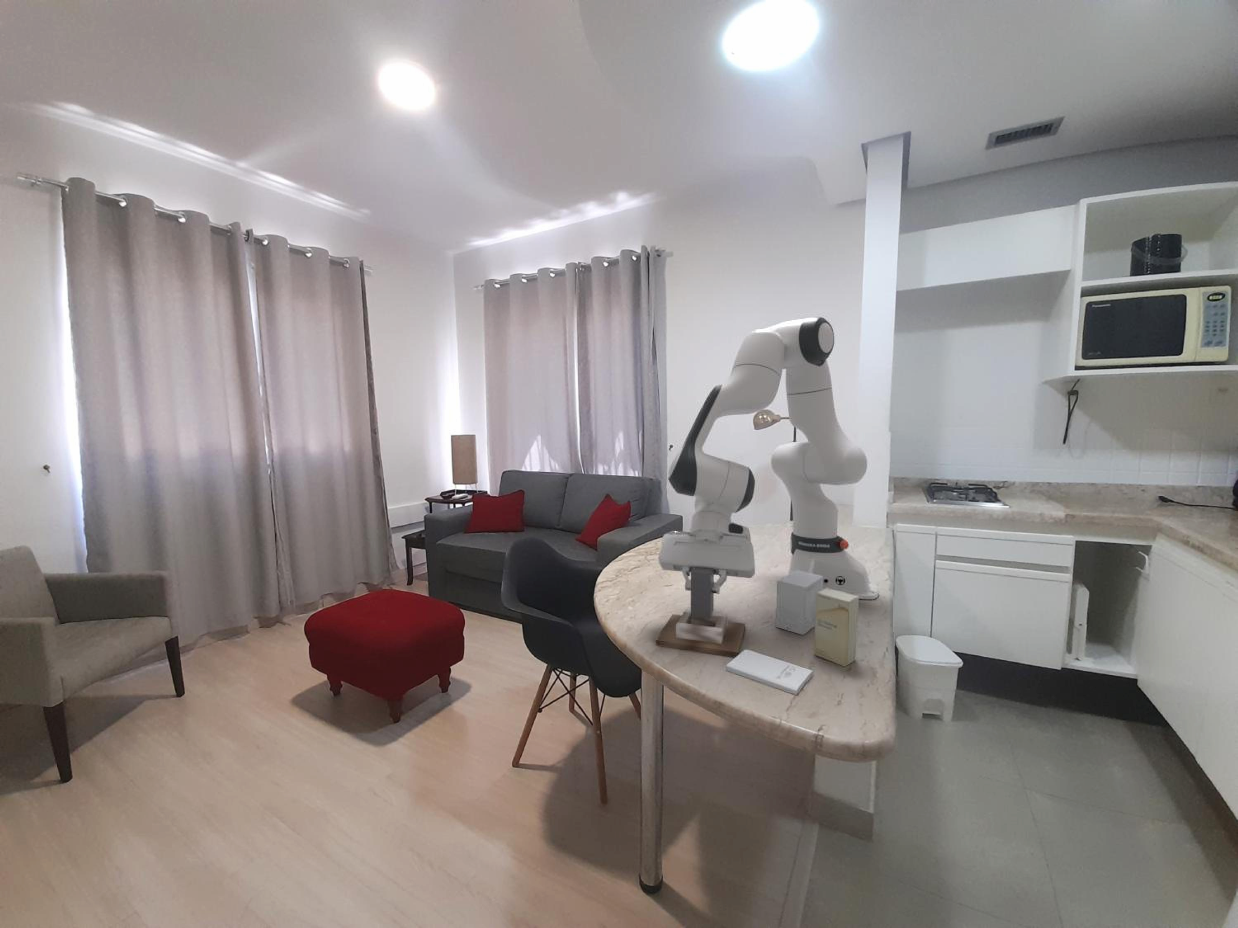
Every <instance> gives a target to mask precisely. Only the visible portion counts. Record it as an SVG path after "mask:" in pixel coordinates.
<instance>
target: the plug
mask: <svg viewBox="0 0 1238 928" xmlns="http://www.w3.org/2000/svg"><path fill="white" fill-rule="evenodd" d="M714 577H715V575H714V569H712V568H701V567H694V568H693V570H692V571H691V572H690V580H691V591H690V610H691V616H699V617H707V618H711V616H712V613H714V611H715V610H714V606H715V605H714V603H715V602H714V601H715V600H714V599H715V598H714V594H715V593H712V591H711V588H712V582H715V578H714Z"/></svg>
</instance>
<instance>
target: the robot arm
mask: <svg viewBox="0 0 1238 928" xmlns="http://www.w3.org/2000/svg"><path fill="white" fill-rule="evenodd" d="M834 346H835V333H834V329H833V326H832V324H831V323H830V322H829V321H828V320H827V319H826V318H824V317H820V316H808V317H805V318H800V319H793V320H787V321H782V322H780V323H777V324H774V325H770V326H767V327H765V328H759V329H754V330H753V331H751V332H749V333H747V335H746V336H745V337H744V339H743V342H742V343H741V345H740V347H739V349H738V351H737V355H736V357H735V359H734V362H733V365H732V369H731V372H730V375H729V377H728V379H726V381H725V382H724V383H722V384H718V385H715V386H714V387H713V388H712V390H711V391H710V392H709V394H707V397H706V399H705V401H704V403H703V405H702V406H701V408H700V410H699V412H698V414H697V416H696V418H695V420H694V422H693V424H692V427H691V428H690V430H689V432H688V434H687V437H686V438H685V441H684V443H682V446H681V448H680V450H679V452H678V453H677V454H676V455H675V456H674V459H673V460H672V462H671V464H670V467H669V470H668V478H667V479H668V482H669V483H670V485H671V488H672V489H673V490H674V491H675V493H677V494H680V495H683V496H687V497H695V501H694V510H695V511H694V513H693V515H692V517H691V524H690V528H689V531H682V530H681V531H676V530H671V531H670V532H666V533H664V534H663V536H662V540H661V547H660V551H659V554H658V564H659V565H660V568H661V569H662V570H665V571H671V572H672V571H673V572H682V576H683V577H684V578H683V579H684V580H685V584H684V589H685V591H688V592H689V591H690V592H691V579H690V578H689V577H691V571H692V570H693V568H694V567H701V568H712V569H714V576H718V577H719V578H718V579H717V580H716V581H714V582H712V588H711V591H712V593H714V594H716V595H718V594H719V595H720V592H721V587H722V586H723V585H724V583H726V582H727V579H728V577H733V578H734V577H736V578H744V579H745V578H746V579H751V578H753V576H755V574H756V564H755V563H756V562H755V559H756V558H755V552H754V551H755V550H754V545H753V543H752V538H751V537H752V536H751V531H750V529H749V528H748V527H747V526H745V525H742V524H739V523H735V522H732V515H733V514H736V513H738V512H740V511H742V510H743V509H745V508H746V507H748V506H749V504H750V503H751V502H752V499H753V497H754V494H755V493H754V492H755V485H756V480H755V476H754V473H753V471H752V470H751V468H750V467H749V466H746V465H744V464H740V463H737V462H734V461H731V460H728V459H727V460H726V459H724V458H720V457H718V456H714V455H711V454H708V453H706V452H704V450H703V447H704V445H705V443H706V440H707V438H708V436H709V434H710V432H711V431H712V429H713V426H714V423H715V422H716V421H717V420H718V419H719V418H722V417H728V416H735V415H750V414H755V413H758V412H761V411H763V410H765V409H766V408H768V407H769V406H770V405H771V404H772V403H773V402H774V400H775V398H776V396H777V393H778V390H779V387H780V383H781V381H782V380H781V379H782V374H783V370H785V392H786V393H785V394H786V403H787V411H788V421H789V422H790V424H791V426H793V427H794V428H795V429H797V430H799V431H800V432H801V433H803V435H804V436H805V438H806V440H807V441H794V442H787V443H784V444H780V445H778V446H777V447H776V448H774V449H775V450H774V451H773V453H772V455H771V461H770V463H771V469H772V470H773V471H772V472H774V474H775V475H776V476H777V477H778V478H779V479H780V480H781V481H782V483H783V484H784V485H785V488H786V490H787V492H788V494H789V497H790V501H791V502H790V503H791V507H792V532H791V534H790V542H789V543H790V548H789V549H790V553H791V557H790V564H789V565H790V566H789V569H788V573H787V575H789V574H791V573H793V572H794V571H796V570H799V571H803V572H808V573H812V574H816V575H821V576H823V589H825V588H829V589H833V590H837V591H841V592H845V593H848V594H852V595H856V596H859V600H875V599H877V598H878V596H879V589H878V587H877V586H876V585H875V584H874V583H873V582H871V581H869V575H868V571H867V569H866V568H865V566H864V564H862V563H861V562H860V561H859V560H858V559H856V558H855V557H854V556H853V555H852V554H850V553H849V552H848V551H847V549H849V547H850V544H849V542H848V540H846V538H843V537H842V536H840V535H839V534H838V516H839V515H838V514H839V513H838V511H839V510H838V507H837V505H836V503H835V502H834V501H833V500H832V499H830V498H828V496H826V495H825V493H824V491H823V489H822V488H821V487H822V486H821V485H831V486H846V485H847V486H848V485H854V484H857V483H859V482H860V481H861V480H862V479H863V478H864V476H865V474H866V472H867V468H868V459H867V456H866V453H865V452H864V450H863V449H862V448H861V447H860V446H858V445H856V444H855V443H854V442H853V441H852V440H850V438H849V437H848V436H847V435H846V433H845V432H844V431H843V429H842V427H841V425H840V423H839V421H838V419H837V415H836V409H835V403H834V395H833V394H834V393H833V387H832V385H833V384H832V378H831V373H830V368H829V364H828V360H827V359H828V358H829V357H830V355H831V353H832V352H833V349H834Z"/></svg>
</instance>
